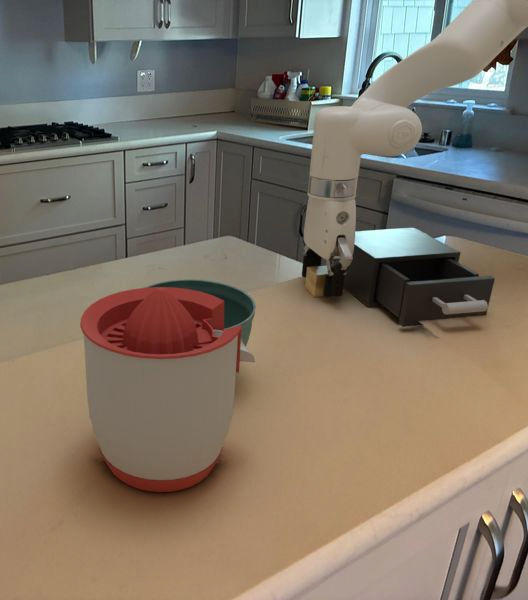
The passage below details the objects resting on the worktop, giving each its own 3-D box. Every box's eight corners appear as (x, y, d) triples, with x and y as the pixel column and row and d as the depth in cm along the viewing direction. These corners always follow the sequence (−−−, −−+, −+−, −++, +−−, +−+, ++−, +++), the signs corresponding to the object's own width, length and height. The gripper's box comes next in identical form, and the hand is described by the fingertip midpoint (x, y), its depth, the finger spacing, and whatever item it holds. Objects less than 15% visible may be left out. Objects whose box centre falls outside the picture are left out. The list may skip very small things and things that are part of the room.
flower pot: (176, 427, 72) (177, 345, 67) (106, 369, 84) (102, 296, 80) (276, 385, 79) (283, 309, 75) (198, 338, 92) (200, 270, 88)
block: (326, 286, 109) (328, 265, 107) (336, 295, 105) (339, 273, 104) (304, 288, 109) (307, 266, 107) (314, 296, 105) (316, 275, 103)
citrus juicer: (270, 497, 61) (287, 314, 53) (95, 518, 59) (84, 331, 50) (225, 409, 75) (233, 254, 67) (83, 423, 73) (73, 265, 65)
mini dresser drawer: (504, 332, 90) (515, 289, 87) (419, 340, 88) (427, 296, 85) (436, 288, 105) (444, 250, 102) (362, 294, 103) (367, 256, 100)
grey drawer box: (450, 300, 102) (460, 252, 99) (367, 307, 100) (375, 258, 97) (406, 271, 115) (413, 227, 111) (331, 277, 113) (336, 232, 109)
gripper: (381, 198, 92) (365, 304, 99) (330, 174, 108) (320, 267, 115) (333, 201, 91) (321, 308, 98) (289, 176, 107) (282, 269, 114)
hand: (321, 285), depth 107 cm, fingers open, 8 cm apart
